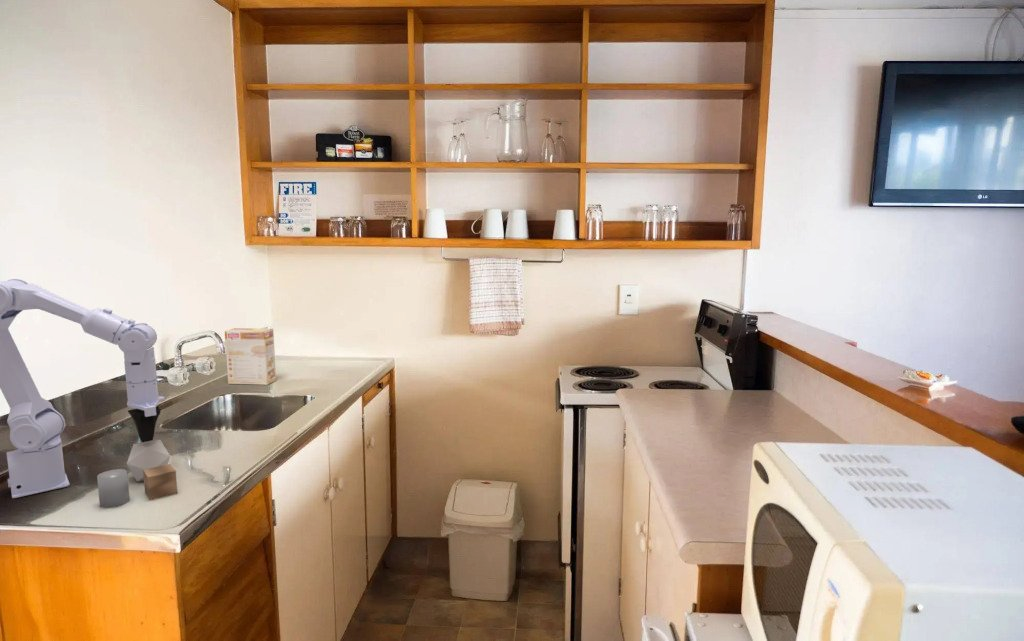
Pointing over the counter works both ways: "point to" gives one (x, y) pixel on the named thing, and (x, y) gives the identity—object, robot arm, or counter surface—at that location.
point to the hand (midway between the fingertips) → (146, 440)
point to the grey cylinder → (113, 488)
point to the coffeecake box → (250, 356)
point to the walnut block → (160, 481)
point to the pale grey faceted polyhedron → (147, 457)
